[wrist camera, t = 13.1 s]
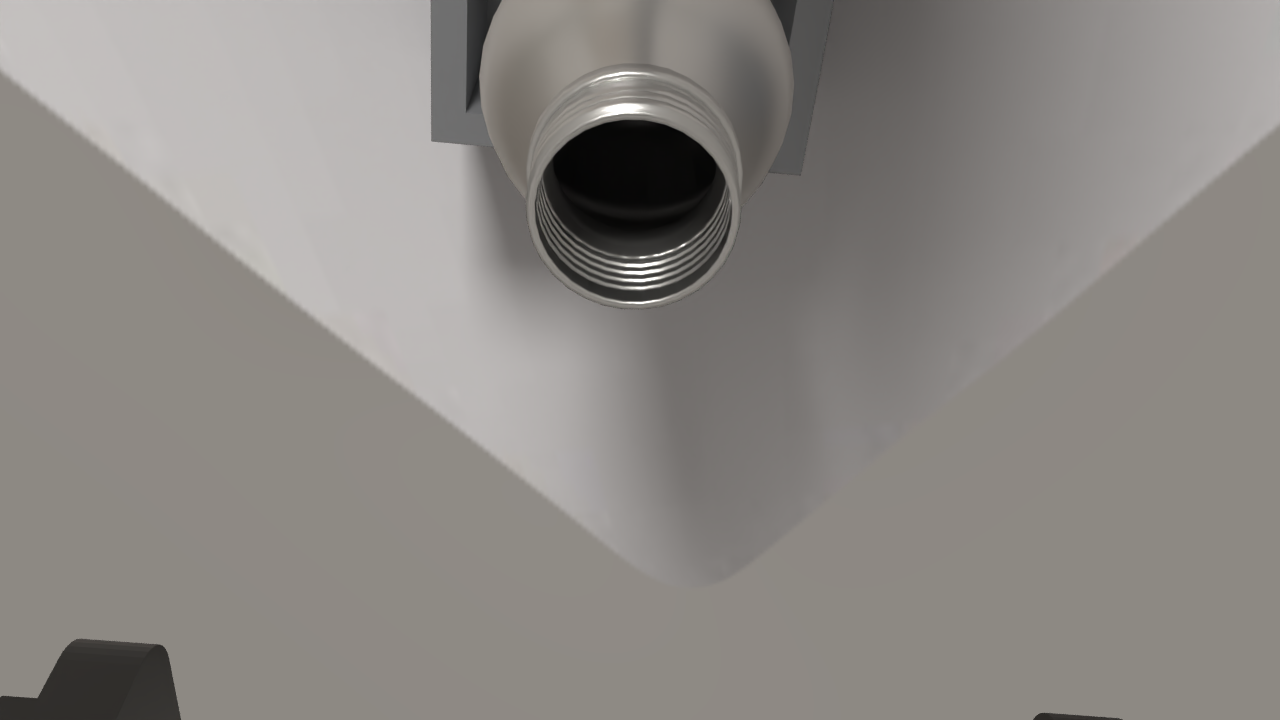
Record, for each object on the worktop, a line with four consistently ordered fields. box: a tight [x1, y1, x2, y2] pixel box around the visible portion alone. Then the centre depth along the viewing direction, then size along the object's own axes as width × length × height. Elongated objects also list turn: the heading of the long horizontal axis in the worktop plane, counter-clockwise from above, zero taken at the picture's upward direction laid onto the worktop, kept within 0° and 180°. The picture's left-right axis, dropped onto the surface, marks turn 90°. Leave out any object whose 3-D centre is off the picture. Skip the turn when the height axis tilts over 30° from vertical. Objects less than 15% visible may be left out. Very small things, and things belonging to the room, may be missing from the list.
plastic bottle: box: [479, 0, 794, 309], centre depth 28 cm, size 6×7×20 cm
